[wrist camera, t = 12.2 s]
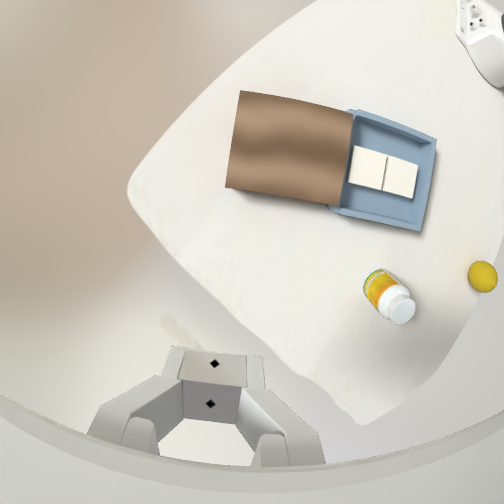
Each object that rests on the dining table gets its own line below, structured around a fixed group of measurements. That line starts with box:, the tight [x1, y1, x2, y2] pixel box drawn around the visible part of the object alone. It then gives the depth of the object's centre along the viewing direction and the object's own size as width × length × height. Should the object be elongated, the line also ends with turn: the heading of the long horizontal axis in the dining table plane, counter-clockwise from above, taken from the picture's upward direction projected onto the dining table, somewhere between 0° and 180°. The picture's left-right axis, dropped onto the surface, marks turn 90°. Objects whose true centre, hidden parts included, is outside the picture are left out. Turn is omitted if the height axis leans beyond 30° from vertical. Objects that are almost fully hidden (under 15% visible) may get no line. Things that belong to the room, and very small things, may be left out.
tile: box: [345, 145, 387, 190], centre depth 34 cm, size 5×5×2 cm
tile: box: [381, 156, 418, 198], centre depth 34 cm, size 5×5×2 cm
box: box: [328, 109, 437, 231], centre depth 34 cm, size 14×14×4 cm
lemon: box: [468, 261, 498, 293], centre depth 37 cm, size 6×6×8 cm
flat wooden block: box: [225, 90, 353, 206], centre depth 33 cm, size 12×14×4 cm
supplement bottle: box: [363, 269, 416, 325], centre depth 36 cm, size 5×5×10 cm
